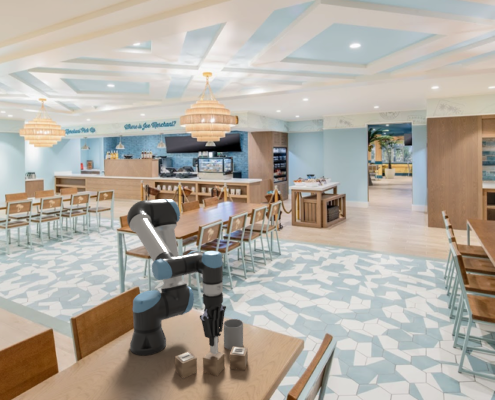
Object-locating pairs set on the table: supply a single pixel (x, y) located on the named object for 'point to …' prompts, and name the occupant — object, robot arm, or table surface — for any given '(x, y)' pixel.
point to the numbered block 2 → (238, 358)
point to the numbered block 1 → (186, 364)
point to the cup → (233, 333)
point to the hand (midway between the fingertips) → (214, 352)
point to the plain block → (213, 363)
